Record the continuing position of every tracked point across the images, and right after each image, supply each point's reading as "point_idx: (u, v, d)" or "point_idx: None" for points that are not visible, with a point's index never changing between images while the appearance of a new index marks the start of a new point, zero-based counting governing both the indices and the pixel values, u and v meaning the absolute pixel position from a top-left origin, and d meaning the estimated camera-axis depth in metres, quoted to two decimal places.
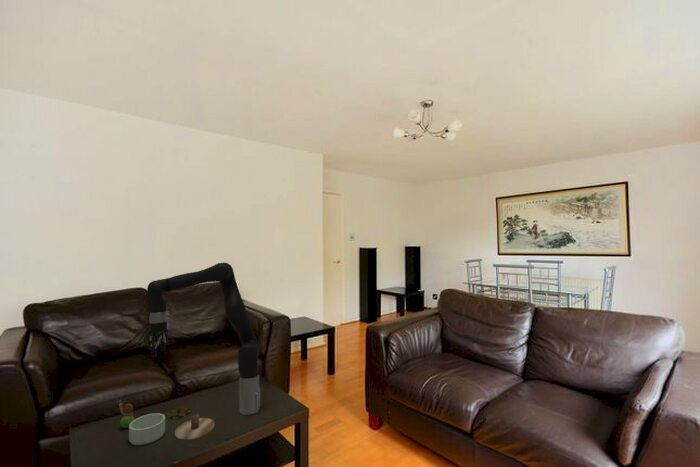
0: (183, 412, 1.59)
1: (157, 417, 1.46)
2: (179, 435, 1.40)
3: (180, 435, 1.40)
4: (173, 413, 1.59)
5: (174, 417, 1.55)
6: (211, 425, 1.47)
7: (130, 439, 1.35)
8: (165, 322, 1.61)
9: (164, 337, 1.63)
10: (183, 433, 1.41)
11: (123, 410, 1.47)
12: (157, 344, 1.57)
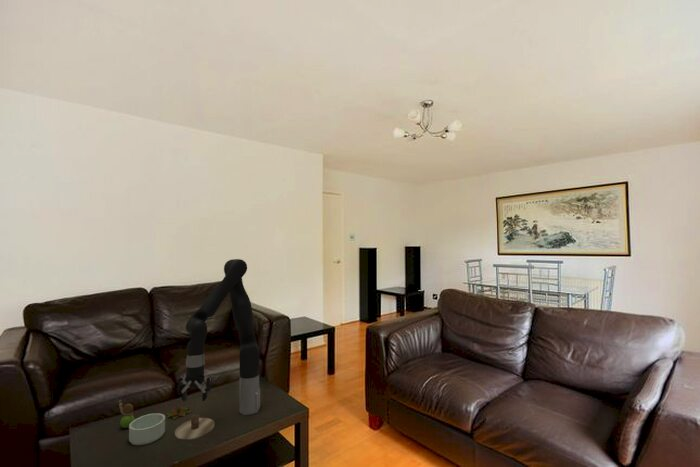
0: (183, 412, 1.59)
1: (157, 417, 1.46)
2: (179, 435, 1.40)
3: (180, 435, 1.40)
4: (173, 413, 1.59)
5: (174, 417, 1.55)
6: (211, 425, 1.47)
7: (130, 439, 1.35)
8: None
9: None
10: (183, 433, 1.41)
11: (123, 410, 1.47)
12: None
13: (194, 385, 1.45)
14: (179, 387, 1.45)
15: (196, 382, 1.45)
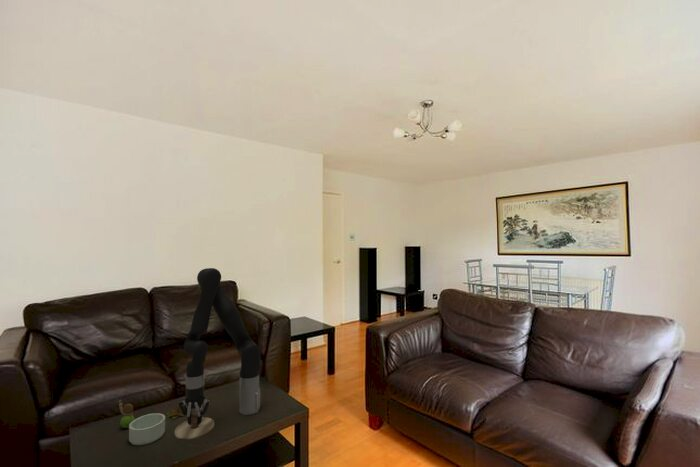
0: None
1: (157, 417, 1.46)
2: (179, 434, 1.40)
3: (180, 434, 1.40)
4: (173, 413, 1.59)
5: (173, 417, 1.55)
6: (210, 424, 1.47)
7: (130, 439, 1.35)
8: None
9: None
10: (183, 432, 1.41)
11: (123, 410, 1.47)
12: None
13: (194, 406, 1.45)
14: (183, 411, 1.45)
15: (196, 403, 1.44)
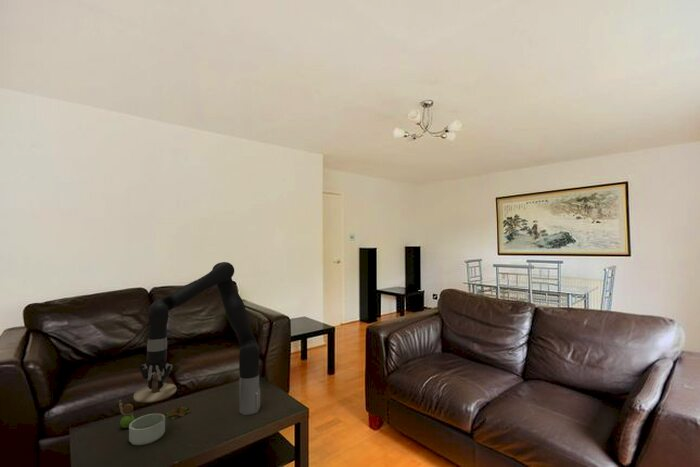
0: (182, 412, 1.59)
1: (157, 417, 1.46)
2: (137, 397, 1.36)
3: (138, 397, 1.36)
4: (173, 412, 1.59)
5: (173, 417, 1.56)
6: (172, 389, 1.43)
7: (130, 439, 1.35)
8: None
9: None
10: (142, 396, 1.37)
11: (123, 410, 1.47)
12: None
13: (155, 370, 1.41)
14: (144, 374, 1.41)
15: (157, 367, 1.40)
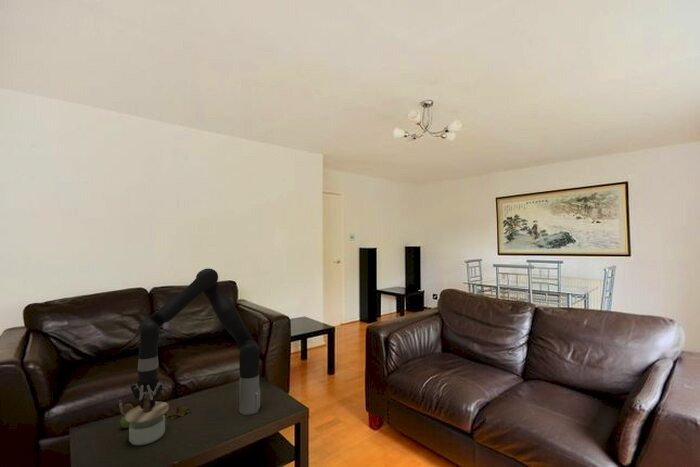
0: (182, 412, 1.59)
1: None
2: (129, 418, 1.34)
3: (130, 418, 1.34)
4: (172, 412, 1.59)
5: (173, 417, 1.56)
6: (164, 408, 1.42)
7: (130, 439, 1.35)
8: None
9: None
10: (134, 416, 1.36)
11: (123, 410, 1.47)
12: None
13: (147, 389, 1.40)
14: (135, 394, 1.39)
15: (148, 386, 1.39)
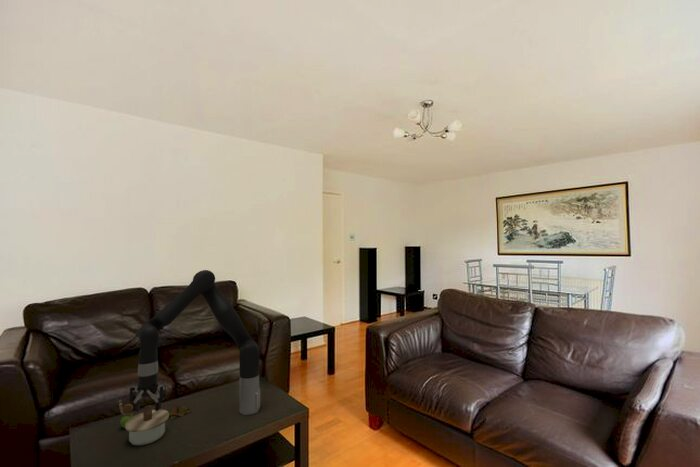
0: (182, 412, 1.59)
1: None
2: (129, 426, 1.34)
3: (130, 426, 1.34)
4: (172, 412, 1.59)
5: (172, 416, 1.56)
6: (164, 416, 1.42)
7: (130, 439, 1.35)
8: None
9: None
10: (134, 425, 1.36)
11: (123, 410, 1.47)
12: None
13: (147, 394, 1.40)
14: (131, 397, 1.39)
15: (148, 391, 1.39)
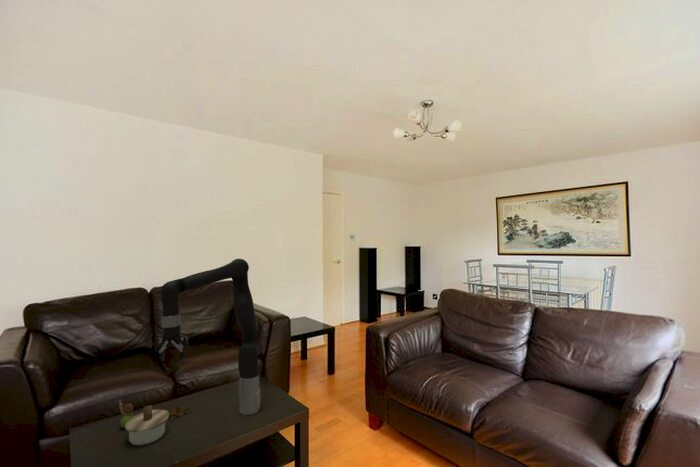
0: (182, 412, 1.59)
1: None
2: (129, 426, 1.34)
3: (130, 426, 1.34)
4: (172, 412, 1.59)
5: (172, 416, 1.56)
6: (164, 416, 1.42)
7: (130, 439, 1.35)
8: None
9: None
10: (134, 425, 1.36)
11: (123, 410, 1.47)
12: None
13: (171, 345, 1.50)
14: (156, 348, 1.49)
15: (173, 342, 1.49)
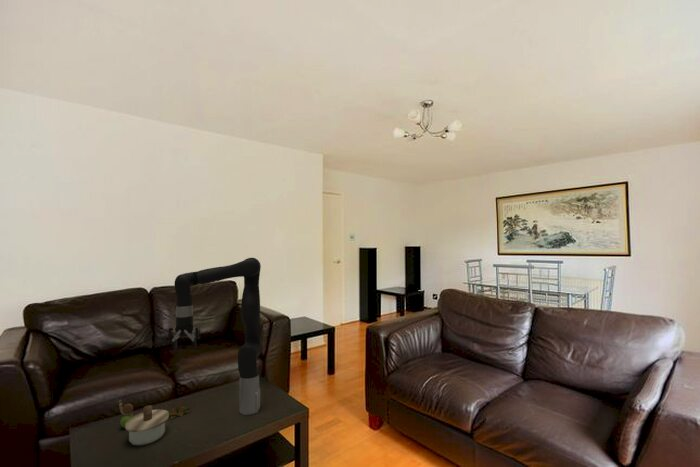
0: (182, 412, 1.60)
1: None
2: (129, 426, 1.34)
3: (130, 426, 1.34)
4: (172, 412, 1.59)
5: (172, 416, 1.56)
6: (164, 416, 1.42)
7: (130, 439, 1.35)
8: None
9: None
10: (134, 425, 1.36)
11: (123, 410, 1.47)
12: None
13: (184, 334, 1.56)
14: (170, 336, 1.56)
15: (185, 331, 1.56)
